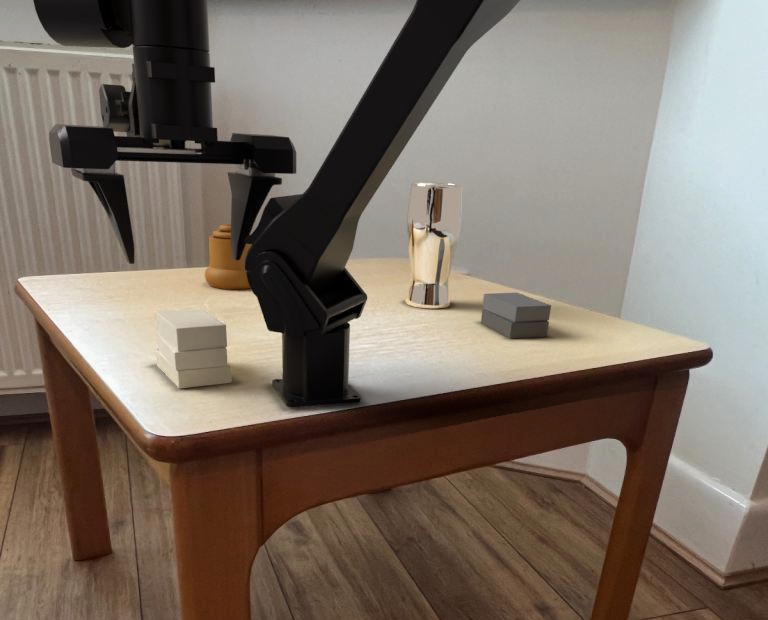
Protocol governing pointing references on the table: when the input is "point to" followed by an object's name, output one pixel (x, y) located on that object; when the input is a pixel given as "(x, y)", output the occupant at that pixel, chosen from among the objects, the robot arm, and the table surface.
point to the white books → (193, 365)
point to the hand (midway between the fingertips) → (185, 261)
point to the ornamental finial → (225, 262)
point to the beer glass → (432, 241)
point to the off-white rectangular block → (190, 329)
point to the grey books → (515, 315)
